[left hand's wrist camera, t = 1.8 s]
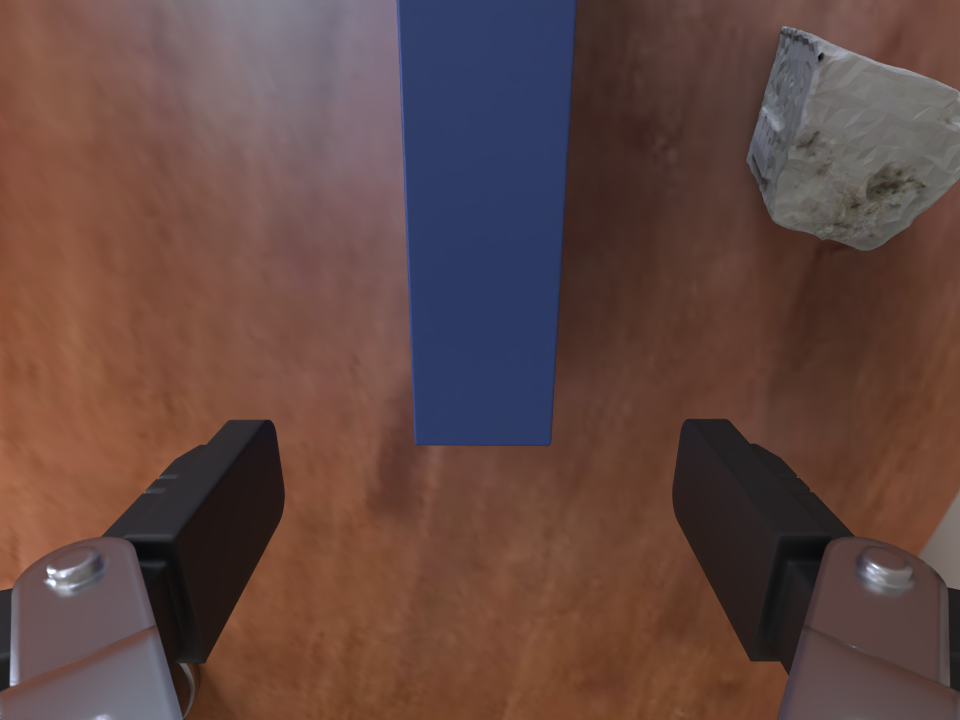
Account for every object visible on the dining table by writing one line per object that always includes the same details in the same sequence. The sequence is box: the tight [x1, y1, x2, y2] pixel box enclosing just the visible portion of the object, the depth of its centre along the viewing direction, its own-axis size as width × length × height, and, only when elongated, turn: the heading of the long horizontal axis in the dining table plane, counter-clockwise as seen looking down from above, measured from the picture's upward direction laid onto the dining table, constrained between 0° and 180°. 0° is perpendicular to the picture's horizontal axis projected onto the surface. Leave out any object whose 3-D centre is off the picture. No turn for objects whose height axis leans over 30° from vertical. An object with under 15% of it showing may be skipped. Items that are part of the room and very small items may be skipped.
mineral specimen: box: [746, 26, 960, 251], centre depth 20 cm, size 7×9×8 cm
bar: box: [397, 0, 577, 446], centre depth 18 cm, size 26×4×9 cm, turn 0°
